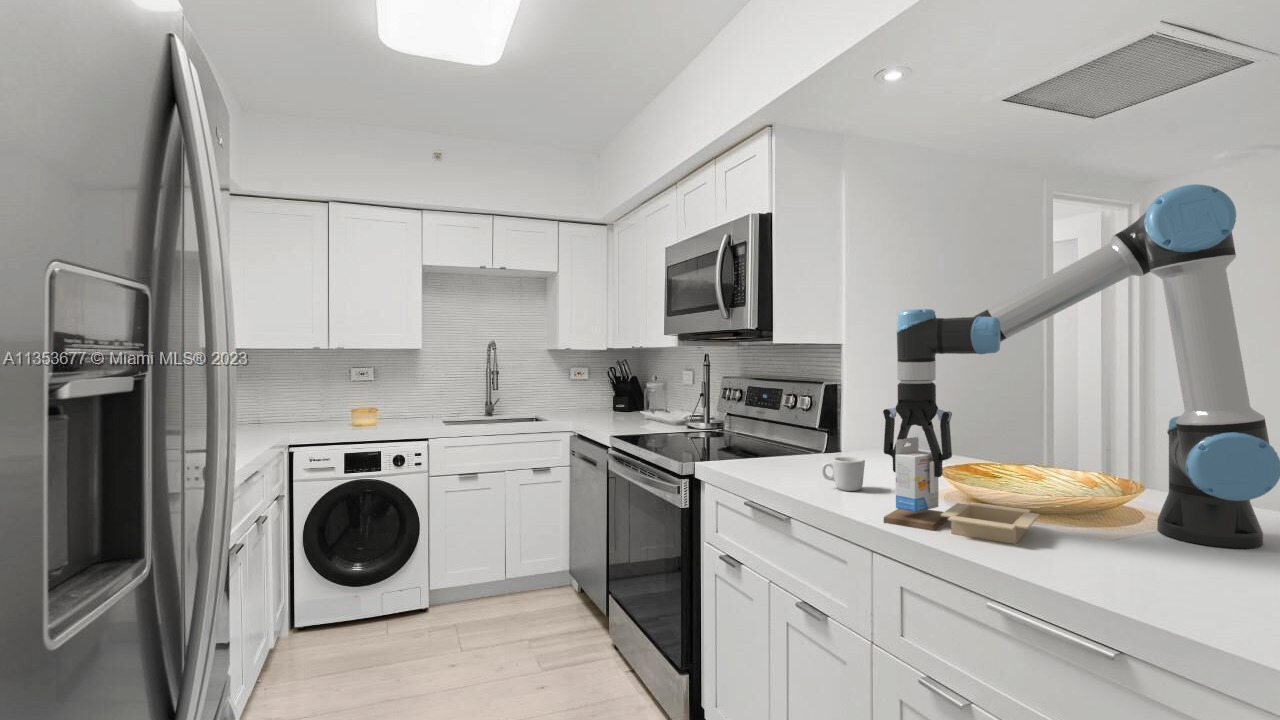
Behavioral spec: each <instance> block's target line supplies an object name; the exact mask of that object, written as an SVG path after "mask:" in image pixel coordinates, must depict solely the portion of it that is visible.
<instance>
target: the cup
mask: <svg viewBox="0 0 1280 720" xmlns="http://www.w3.org/2000/svg"><path fill="white" fill-rule="evenodd" d="M865 462H866V461H865V458H862V457H855V456H838V457H833V459H832V461H828V462H825V463H824V464H823V465H822V469H821V474H822V476H823V478H824V479H825V480H827V481H833V482H835V487H836V488H837V489H839V490H840V491H845V492H857V491H860V490H862V488H863V485H864V484H863V483H864V473H865V465H866V464H865ZM827 467H830V468H831V469H832V475H831V476H828V475H827V474H826V473H827V472H826V469H827Z"/></svg>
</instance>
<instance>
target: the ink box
mask: <svg viewBox="0 0 1280 720" xmlns="http://www.w3.org/2000/svg"><path fill="white" fill-rule="evenodd" d="M907 443H908V444H910V445H909V446H905V445H906V444H907ZM895 444H896V455H895V465H896V472H895V509H903V510H907V511H912V512H918V511H923V510H927V509H928V510H933V509H935V508H938V507H939V490H938V491H937V492H935V493H930V461H933V457H932V454H931V451H930V452H929V451H923V450H919V448H920V447H919V436H913V437H907V438H905V439H899V440H897V439H896V441H895ZM904 444H905V445H904ZM903 445H904V446H903ZM937 484H938V485H939V477H937Z"/></svg>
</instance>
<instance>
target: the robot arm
mask: <svg viewBox="0 0 1280 720" xmlns="http://www.w3.org/2000/svg"><path fill="white" fill-rule="evenodd" d="M1234 203H1235V202H1233V200H1232V198H1231V197H1230V196H1229V195H1228V194H1227V193H1225V192H1224V191H1223V190H1221V189H1218V188H1217V187H1214V186H1210V185H1206V184H1186V185H1182V186H1178V187H1175V188H1172V189H1170V190H1168V191H1167V192H1164V193H1162V194H1161V195H1159V196H1157V197H1156V198H1155V199H1154V200H1153V201H1152V202H1151V203H1150V204H1149V206H1148V208H1147V209H1146V211H1145V213H1144V214H1142V215H1141V216H1140V217H1139V218H1138V219H1136V221H1134V222H1133V223H1131V224H1130V225H1129V226H1127V227H1125V228H1124V229H1123V230H1121V231H1120V232H1117V233H1116V234H1114V235H1112V236H1111V238H1110V240H1109V243H1108V244H1106V245H1104V246H1102V247H1100V248H1098V249H1096V250H1095V251H1093V252H1091V253H1089V254H1087V255H1086V256H1084V257H1082V258H1080V259H1078V260H1076V261H1074V262H1073V263H1071V264H1069V265H1067V266H1065V267H1063V268H1061V269H1060V270H1058V271H1056V272H1054V273H1052V274H1050V275H1048V276H1047V277H1045V278H1043V279H1041V280H1039V281H1037V282H1036V283H1034V284H1032V285H1030V286H1028V287H1027V288H1025V289H1023V290H1021V291H1019V292H1017V293H1015V294H1013V295H1011V296H1009V297H1008V298H1005V299H1004V300H1001V301H1000V302H998V303H997V304H995V305H992V306H991V307H989V308H987V309H986V310H983V311H981V312H980V313H978V314H975V315H974V316H969V317H968V316H967V317H966V316H963V317H947V318H944V317H943V318H942V317H941V318H940V317H937V315H936V311H935V310H934V309H932V308H931V309H930V308H928V309H927V308H923V309H922V308H921V309H919V308H918V309H916V308H915V309H904V310H901V311H900V312H899V313H898V314H897V324H896V325H897V329H896V351H897V364H896V365H897V366H896V367H897V380H898V381H900V382H898V384H897V403H896V405H895V407H893V408H886V409H883V412H882V414H883V417H884V420H885V421H884V441H883V453H884V455H887V456H890V457H891V458H892V471H893V473H896V465H895V455H896V443H895V444H894V440H895V427H896V426H895V425H896V424H895V422H896V421H895V420H896V419H895V418H896V417H897V414H898V416H899V417H900V419H901V423H900V428H899V431H898V434H897V438H896V440H899V439H905V438H908V435H909V432H910V431H911V430H910V429H911V428H912V426H917V427H921V429H922V431H923V432H924V435H925V438H926V441H927V444H928V447H929V450H930V452H931V454H932V457H933V461H930V493H935V492H937V491H938V492H939V483H938V484H937V477H938V478H941V477H942V476H943V462H944V461H946V460H949V459H952V457H953V451H952V437H951V426H950V425H951V419H952V415H953V413H952V411H947V410H942V409H939V406H938V405H937V391H936V390H937V389H936V387H937V385H936V384H935V383H934V382H933V381H935V380H936V379H937V378H936V371H937V370H936V354H937V355H938V354H940V355H944V354H946V355H948V354H950V355H951V354H952V355H953V354H954V355H955V354H956V355H957V354H959V355H965V354H966V355H969V354H971V355H972V354H973V355H974V354H978V355H987V354H996V353H998V352H999V351H1000V349H1001V343H1002V342H1003V341H1005V340H1006V339H1008V338H1010V337H1012V336H1014V335H1016V334H1018V333H1021V332H1022V331H1025V330H1026V329H1028V328H1030V327H1032V326H1034V325H1037V324H1038V323H1040V322H1042V321H1044V320H1046V319H1047V318H1050V317H1053V316H1054V315H1056V314H1058V313H1060V312H1062V311H1064V310H1066V309H1068V308H1069V307H1071V306H1073V305H1076V304H1077V303H1080V302H1082V301H1083V300H1086V299H1088V298H1090V297H1091V296H1093V295H1096V294H1098V293H1100V292H1101V291H1103V290H1106V289H1108V288H1109V287H1111V286H1113V285H1115V284H1117V283H1120V282H1121V281H1123V280H1125V279H1126V278H1129V277H1131V276H1135V277H1143V276H1144V275H1146V274H1149V273H1151V274H1153V275H1155V276H1157V277H1158V278H1160V279H1161V280H1162V285H1163V291H1164V298H1165V303H1166V309H1167V313H1168V314H1167V315H1168V320H1169V326H1170V331H1171V338H1172V344H1173V350H1174V356H1175V363H1176V367H1177V373H1178V374H1177V375H1178V379H1179V385H1180V391H1181V396H1182V402H1183V408H1184V410H1183V411H1184V412H1183V413H1182V414H1181V415H1177V416H1173V417H1172V418H1170V419H1169V422H1168V429H1167V431H1166V432H1167V435H1168V493H1167V496H1166V498H1165V501H1164V503H1163V506H1162V507H1161V510H1160V512H1159V514H1158V518H1157V525H1156V527H1157V529H1156V530H1157V532H1159V533H1160V534H1161V535H1164V536H1166V537H1169V538H1172V539H1175V540H1180V541H1183V542H1189V543H1193V544H1198V545H1203V546H1204V545H1205V546H1210V547H1221V548H1231V549H1250V548H1251V549H1253V548H1258V547H1259V548H1260V547H1263V544H1264V533H1263V530H1262V527H1261V525H1260V521H1259V519H1258V517H1257V515H1256V513H1255V511H1254V508H1253V506H1252V503H1251V500H1254V499H1257V498H1260V497H1262V496H1264V495H1266V494H1268V493H1269V492H1270V491H1271V490H1273V488H1275V487H1276V485H1277V484H1278V483H1279V480H1280V457H1279V456H1278V455H1279V454H1278V452H1276V450H1275V448H1274V447H1273V446H1272V445H1271V444H1270V440H1269V439H1270V438H1269V434H1268V428H1267V423H1266V417H1265V415H1262V414H1261V413H1259V412H1258V411H1256V410H1255V409H1253V408H1252V407H1251V404H1250V399H1249V392H1248V387H1247V380H1246V375H1245V374H1246V373H1245V369H1244V364H1243V363H1244V362H1243V357H1242V352H1241V347H1240V346H1241V345H1240V340H1239V335H1238V330H1237V324H1236V317H1235V313H1234V308H1233V302H1232V295H1231V291H1230V290H1231V289H1230V284H1229V278H1228V273H1227V269H1228V266H1230V265H1231V263H1233V261H1234V260H1235V259H1236V258H1237V254H1236V248H1235V247H1236V246H1235V242H1234V237H1233V230H1234V228H1235V225H1236V222H1237V220H1236V218H1237V210H1236V205H1235V204H1234ZM936 415H937V416H938V417H937V419H938V420H939V429H940V442H941V448H940V445H939V442H938V441H939V440H938V438H937V436H936V433H935V430H934V425H933V422H932V420H933V419H934V418H935V417H936ZM905 445H906V444H904V445H903V446H904V447H905Z"/></svg>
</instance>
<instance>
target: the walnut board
mask: <svg viewBox="0 0 1280 720" xmlns="http://www.w3.org/2000/svg"><path fill="white" fill-rule="evenodd" d="M944 512H945V511H941V510H934V509H927V510H923V511H918V512H912V511H907V510H903V509H898V508H896V509H895V510H893V511H892V512H890V513H887V515H884V516H883V523H884V524H891V525H897V526H902V527H903V526H904V527H910V528H916V529H921V530H928V531H935V530H937V529H938V528H939V527H941V526H942V525H943V524H945V523H946V522H947V521H949V520H948V518H949V517H944V516H941V514H942V513H944Z"/></svg>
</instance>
